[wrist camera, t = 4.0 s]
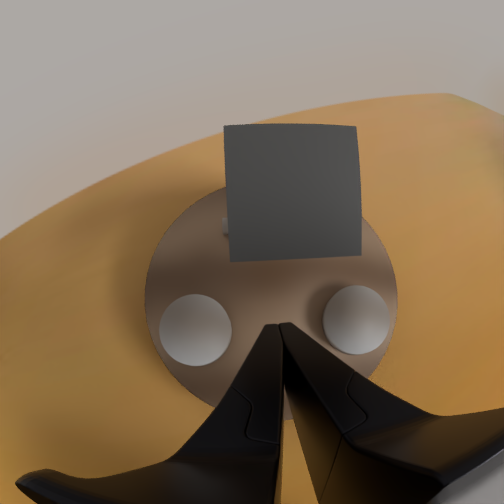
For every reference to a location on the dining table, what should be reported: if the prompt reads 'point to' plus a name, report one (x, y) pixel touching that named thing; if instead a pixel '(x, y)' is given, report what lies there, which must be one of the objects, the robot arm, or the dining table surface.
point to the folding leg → (292, 191)
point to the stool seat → (259, 301)
